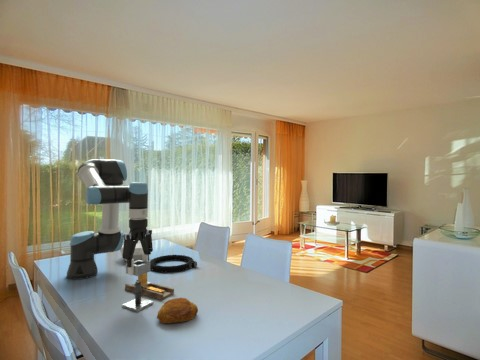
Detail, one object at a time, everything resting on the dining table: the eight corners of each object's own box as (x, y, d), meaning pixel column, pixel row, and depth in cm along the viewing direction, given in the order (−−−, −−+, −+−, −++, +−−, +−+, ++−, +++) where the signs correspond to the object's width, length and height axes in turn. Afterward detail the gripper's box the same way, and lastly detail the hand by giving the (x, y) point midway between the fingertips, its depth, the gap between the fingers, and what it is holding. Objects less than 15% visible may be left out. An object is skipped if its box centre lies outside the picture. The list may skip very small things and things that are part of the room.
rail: (125, 289, 143) (125, 284, 143) (138, 284, 150) (138, 279, 150) (161, 300, 131) (161, 294, 131) (173, 293, 138) (174, 288, 138)
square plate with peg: (122, 306, 124) (122, 283, 124) (138, 299, 132) (139, 277, 132) (137, 312, 120) (137, 287, 120) (153, 303, 128) (153, 280, 127)
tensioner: (134, 287, 142) (134, 269, 142) (142, 284, 146) (142, 266, 146) (158, 294, 134) (158, 275, 134) (166, 290, 139) (166, 271, 138)
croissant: (198, 328, 112) (201, 307, 112) (156, 328, 108) (159, 306, 108) (193, 310, 126) (196, 292, 126) (156, 309, 122) (159, 290, 122)
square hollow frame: (125, 273, 124) (125, 263, 124) (138, 268, 130) (138, 259, 130) (137, 276, 121) (137, 266, 121) (150, 271, 127) (150, 262, 127)
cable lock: (161, 252, 197) (203, 255, 191) (161, 258, 197) (203, 261, 191) (139, 265, 170) (187, 269, 164) (139, 271, 170) (187, 275, 164)
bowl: (143, 263, 185) (143, 248, 185) (115, 262, 185) (115, 247, 185) (151, 255, 203) (151, 241, 203) (126, 254, 203) (126, 241, 203)
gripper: (125, 222, 115) (124, 280, 115) (161, 216, 132) (161, 266, 132) (112, 220, 118) (112, 277, 119) (149, 214, 136) (149, 264, 136)
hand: (138, 271), depth 125 cm, fingers closed on square hollow frame, 7 cm apart
